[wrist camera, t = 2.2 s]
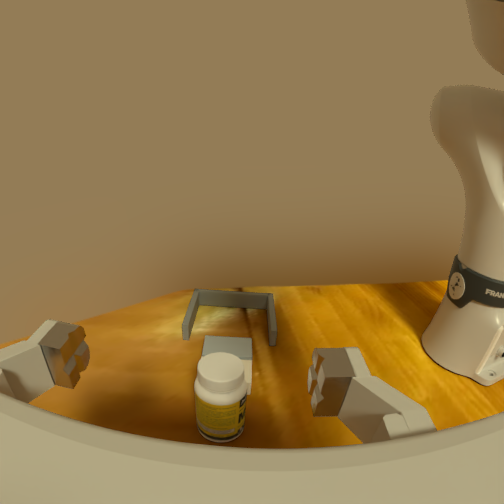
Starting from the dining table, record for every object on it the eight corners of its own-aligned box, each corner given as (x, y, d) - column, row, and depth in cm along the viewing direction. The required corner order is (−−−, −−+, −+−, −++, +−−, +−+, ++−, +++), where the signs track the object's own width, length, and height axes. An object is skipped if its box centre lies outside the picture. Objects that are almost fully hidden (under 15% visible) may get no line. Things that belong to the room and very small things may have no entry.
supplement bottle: (246, 443, 26) (252, 384, 23) (196, 443, 26) (191, 385, 23) (241, 408, 31) (246, 348, 28) (197, 408, 30) (193, 348, 27)
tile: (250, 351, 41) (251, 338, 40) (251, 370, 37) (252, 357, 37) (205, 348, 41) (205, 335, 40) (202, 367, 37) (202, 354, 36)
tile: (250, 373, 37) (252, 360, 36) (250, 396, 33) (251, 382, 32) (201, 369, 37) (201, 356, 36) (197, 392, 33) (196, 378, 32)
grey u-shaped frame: (271, 306, 52) (272, 293, 51) (275, 345, 42) (277, 330, 41) (195, 302, 52) (194, 288, 51) (183, 339, 42) (182, 324, 41)
